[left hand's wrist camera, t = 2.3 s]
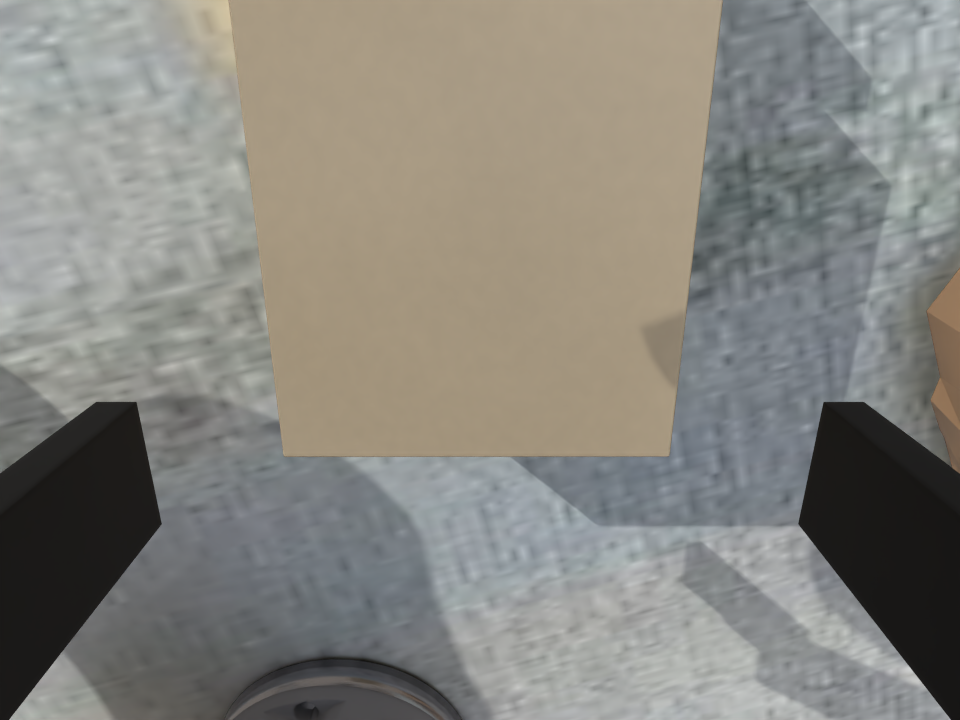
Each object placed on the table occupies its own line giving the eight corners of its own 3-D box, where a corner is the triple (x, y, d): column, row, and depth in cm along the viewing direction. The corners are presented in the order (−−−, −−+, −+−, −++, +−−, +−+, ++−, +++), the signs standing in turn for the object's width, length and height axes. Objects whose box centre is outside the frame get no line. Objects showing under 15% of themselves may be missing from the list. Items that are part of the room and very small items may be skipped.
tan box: (321, -110, 24) (191, -298, 13) (632, -110, 24) (759, -297, 13) (353, 335, 30) (283, 457, 19) (601, 335, 30) (670, 457, 19)
